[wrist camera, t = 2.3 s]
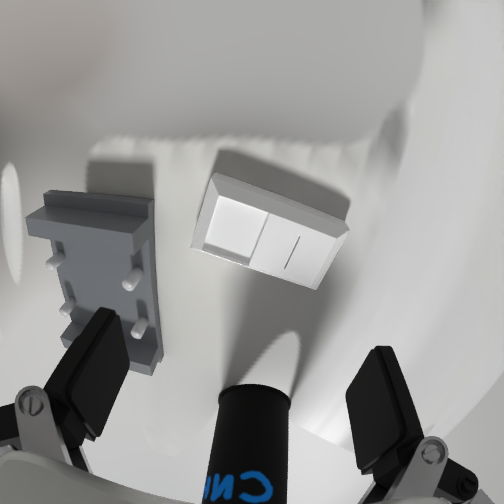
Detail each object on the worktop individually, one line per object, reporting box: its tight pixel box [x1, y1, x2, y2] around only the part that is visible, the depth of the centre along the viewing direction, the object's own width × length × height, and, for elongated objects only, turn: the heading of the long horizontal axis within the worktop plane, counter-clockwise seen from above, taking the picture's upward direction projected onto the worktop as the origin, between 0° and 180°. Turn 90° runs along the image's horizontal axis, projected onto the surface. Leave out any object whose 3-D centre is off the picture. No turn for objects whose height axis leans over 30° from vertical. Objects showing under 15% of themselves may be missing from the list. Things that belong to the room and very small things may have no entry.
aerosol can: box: [202, 384, 291, 504], centre depth 20 cm, size 8×8×20 cm
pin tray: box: [25, 190, 164, 376], centre depth 21 cm, size 16×10×4 cm, turn 172°
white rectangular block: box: [190, 172, 350, 290], centre depth 18 cm, size 5×9×3 cm, turn 70°
